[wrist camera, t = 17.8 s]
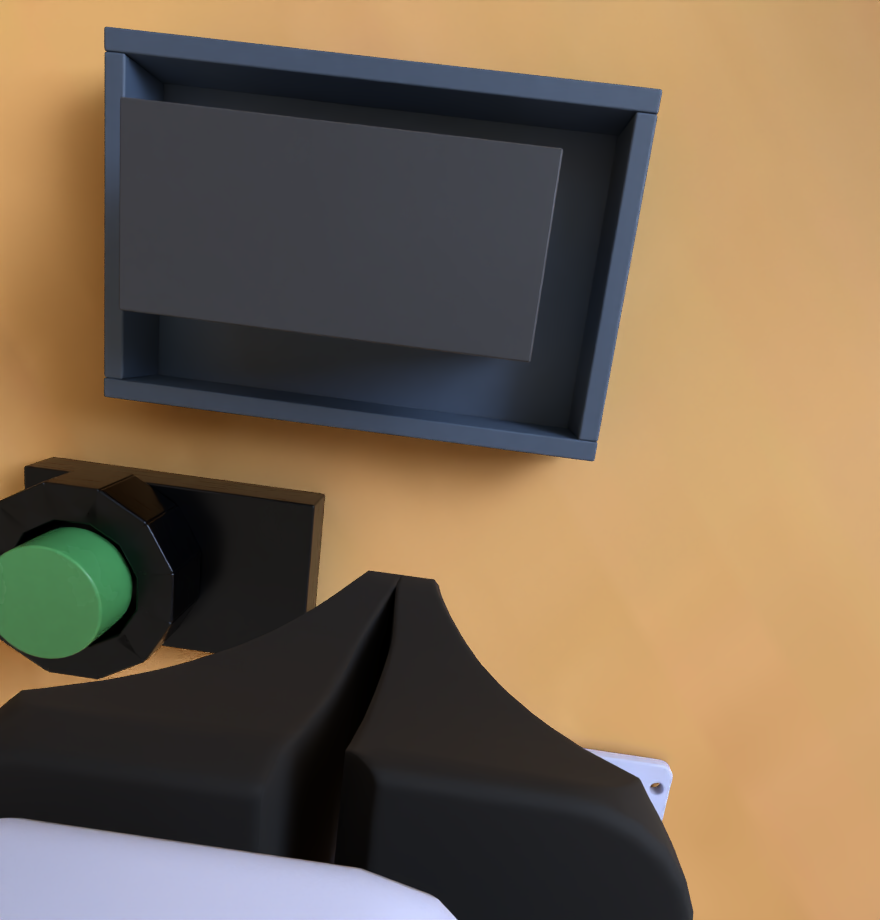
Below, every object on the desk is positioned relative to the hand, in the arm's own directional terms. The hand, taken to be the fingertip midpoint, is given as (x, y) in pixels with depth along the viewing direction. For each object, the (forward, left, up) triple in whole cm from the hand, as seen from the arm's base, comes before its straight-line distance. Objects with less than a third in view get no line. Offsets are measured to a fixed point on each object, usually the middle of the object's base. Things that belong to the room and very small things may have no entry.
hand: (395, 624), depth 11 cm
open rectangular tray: (+7, +3, -10) cm, 13 cm away
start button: (-4, +11, -7) cm, 14 cm away
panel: (-4, +9, -10) cm, 14 cm away
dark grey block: (+7, +3, -10) cm, 13 cm away
